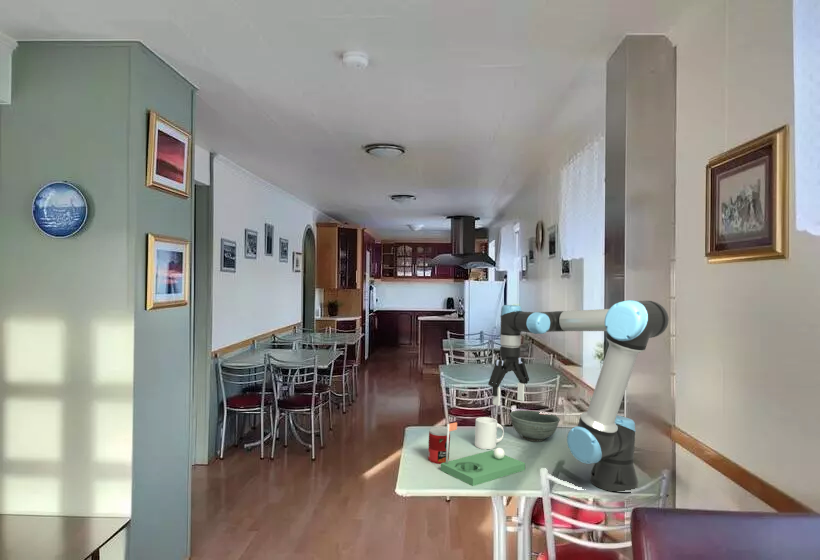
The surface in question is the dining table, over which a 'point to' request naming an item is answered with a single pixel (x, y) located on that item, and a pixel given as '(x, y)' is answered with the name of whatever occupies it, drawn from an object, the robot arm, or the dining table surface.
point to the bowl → (534, 424)
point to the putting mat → (479, 465)
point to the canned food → (438, 445)
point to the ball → (499, 453)
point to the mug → (487, 433)
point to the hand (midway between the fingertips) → (508, 402)
